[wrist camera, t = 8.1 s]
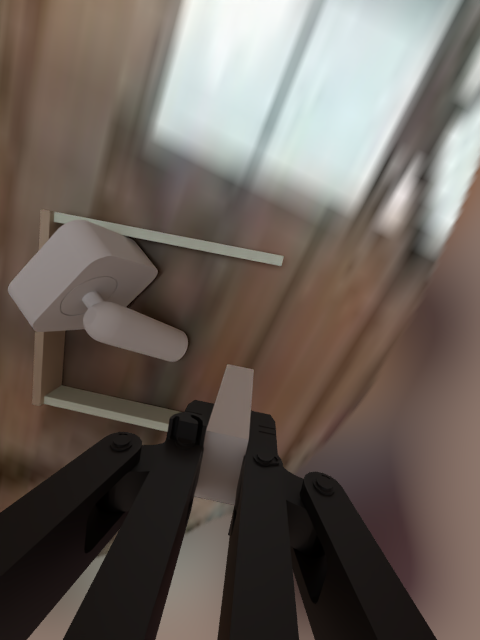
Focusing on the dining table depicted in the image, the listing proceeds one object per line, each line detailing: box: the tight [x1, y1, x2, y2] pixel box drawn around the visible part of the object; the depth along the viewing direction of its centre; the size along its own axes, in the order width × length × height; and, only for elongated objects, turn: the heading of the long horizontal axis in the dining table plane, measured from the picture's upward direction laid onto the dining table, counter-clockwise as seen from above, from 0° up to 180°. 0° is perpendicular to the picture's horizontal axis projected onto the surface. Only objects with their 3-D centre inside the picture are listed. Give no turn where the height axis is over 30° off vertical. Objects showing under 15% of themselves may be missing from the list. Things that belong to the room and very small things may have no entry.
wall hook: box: [8, 220, 188, 362], centre depth 25 cm, size 8×10×10 cm
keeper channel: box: [32, 209, 284, 432], centre depth 28 cm, size 20×18×3 cm
